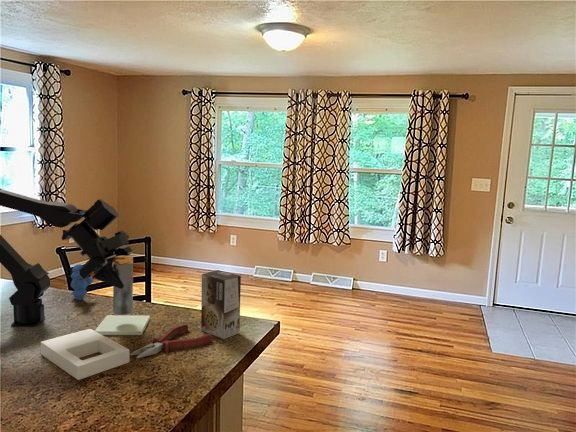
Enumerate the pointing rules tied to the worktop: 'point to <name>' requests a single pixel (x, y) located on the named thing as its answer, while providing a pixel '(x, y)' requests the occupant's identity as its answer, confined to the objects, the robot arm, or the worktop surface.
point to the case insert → (84, 353)
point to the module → (124, 295)
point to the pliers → (172, 342)
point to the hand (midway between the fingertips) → (127, 284)
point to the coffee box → (220, 303)
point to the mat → (123, 325)
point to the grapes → (79, 283)
